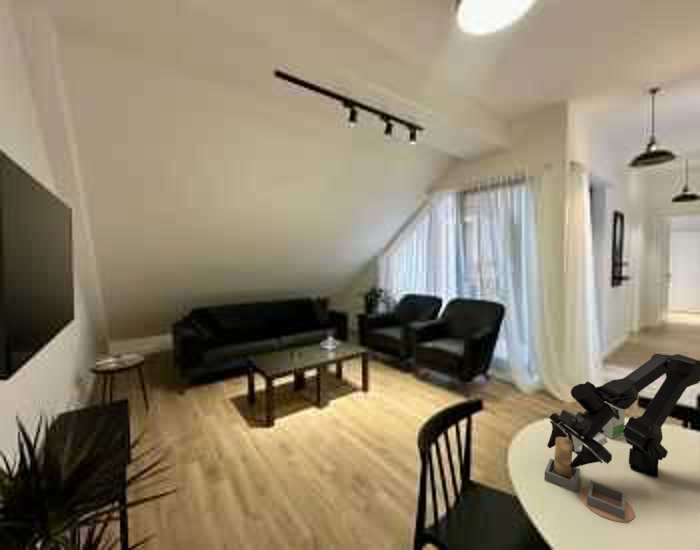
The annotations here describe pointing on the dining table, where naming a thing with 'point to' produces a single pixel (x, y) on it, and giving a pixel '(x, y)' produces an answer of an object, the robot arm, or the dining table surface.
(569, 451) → the rod
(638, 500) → the dining table surface
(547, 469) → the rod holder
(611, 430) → the skincare box
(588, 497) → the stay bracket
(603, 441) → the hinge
